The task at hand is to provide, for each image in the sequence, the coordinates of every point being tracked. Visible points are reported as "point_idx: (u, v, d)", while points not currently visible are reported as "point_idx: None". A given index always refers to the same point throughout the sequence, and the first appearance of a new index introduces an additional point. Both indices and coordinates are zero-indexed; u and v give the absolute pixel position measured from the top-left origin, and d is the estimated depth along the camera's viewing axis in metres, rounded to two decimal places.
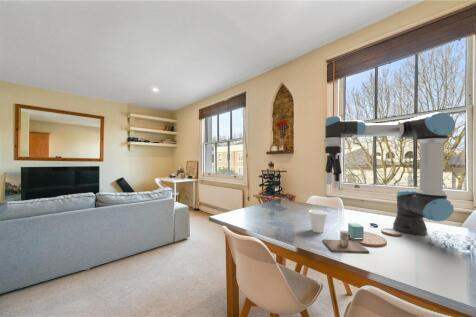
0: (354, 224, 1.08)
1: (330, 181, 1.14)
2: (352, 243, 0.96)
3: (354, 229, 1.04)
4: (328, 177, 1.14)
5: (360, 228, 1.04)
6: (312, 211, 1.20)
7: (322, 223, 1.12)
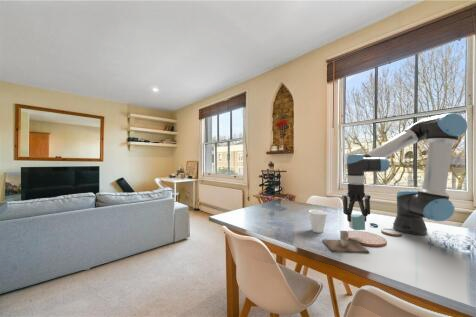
0: (355, 214, 1.08)
1: None
2: (352, 243, 0.96)
3: (355, 220, 1.04)
4: None
5: (361, 218, 1.04)
6: (312, 211, 1.20)
7: (322, 223, 1.12)
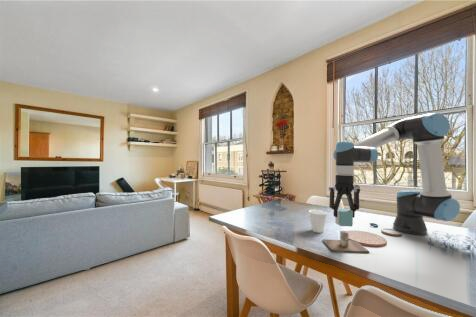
0: (342, 209, 0.97)
1: None
2: (352, 243, 0.96)
3: (342, 215, 0.93)
4: None
5: (349, 213, 0.92)
6: (312, 211, 1.20)
7: (322, 223, 1.12)
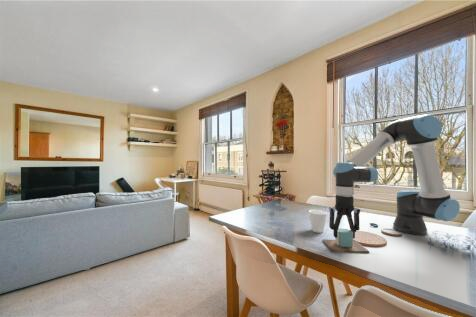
0: (342, 229, 0.97)
1: None
2: None
3: (342, 235, 0.93)
4: None
5: (349, 234, 0.92)
6: (312, 211, 1.20)
7: (322, 223, 1.12)
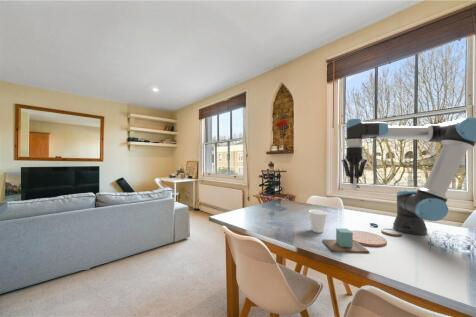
0: (342, 229, 0.97)
1: None
2: None
3: (342, 235, 0.93)
4: None
5: (349, 234, 0.92)
6: (312, 211, 1.20)
7: (322, 223, 1.12)
